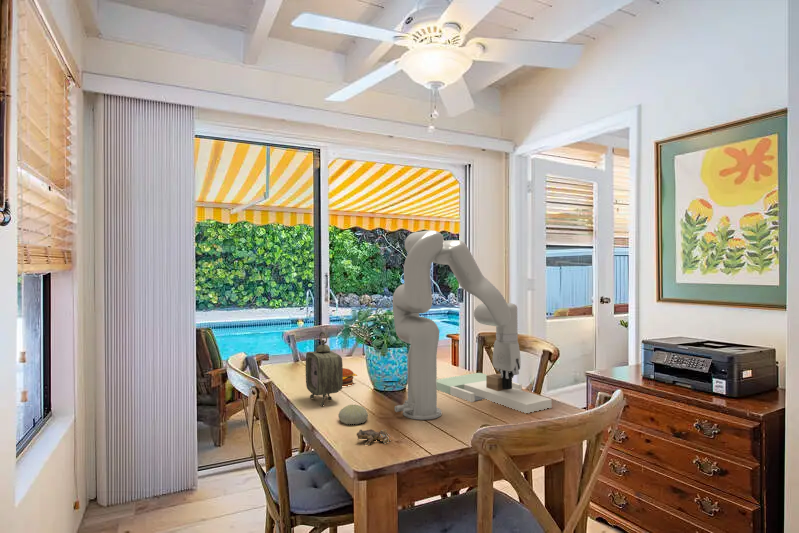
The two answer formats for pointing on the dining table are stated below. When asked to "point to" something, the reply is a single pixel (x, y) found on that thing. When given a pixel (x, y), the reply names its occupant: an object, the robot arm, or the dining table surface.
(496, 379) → the walnut block
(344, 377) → the hamburger
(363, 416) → the sea urchin shell
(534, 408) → the board
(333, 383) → the tabletop clock
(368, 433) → the frog figurine
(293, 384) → the dining table surface
